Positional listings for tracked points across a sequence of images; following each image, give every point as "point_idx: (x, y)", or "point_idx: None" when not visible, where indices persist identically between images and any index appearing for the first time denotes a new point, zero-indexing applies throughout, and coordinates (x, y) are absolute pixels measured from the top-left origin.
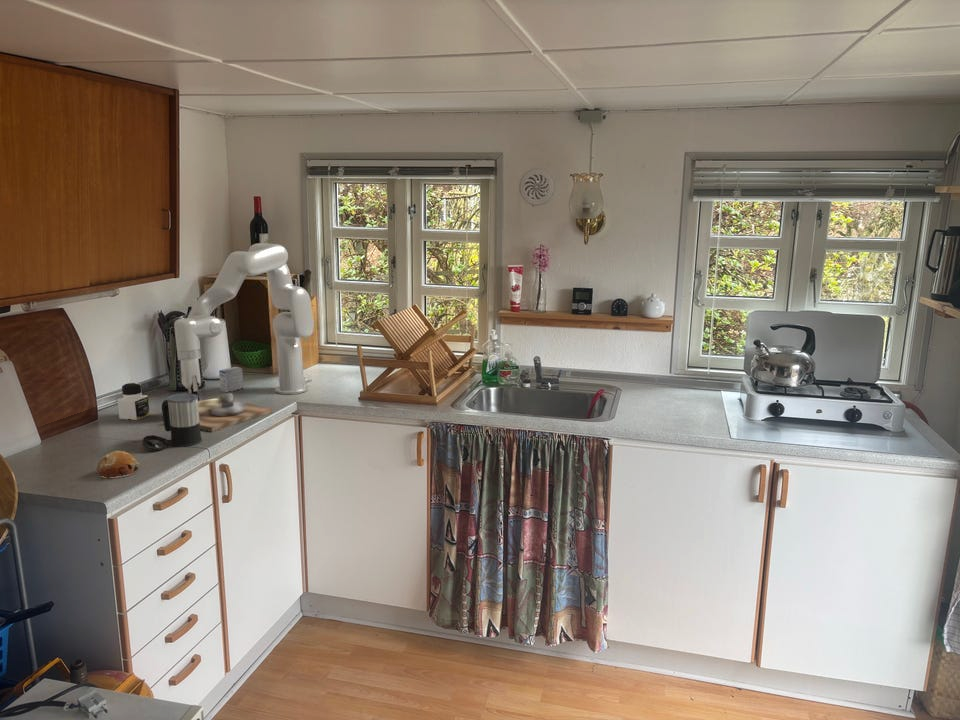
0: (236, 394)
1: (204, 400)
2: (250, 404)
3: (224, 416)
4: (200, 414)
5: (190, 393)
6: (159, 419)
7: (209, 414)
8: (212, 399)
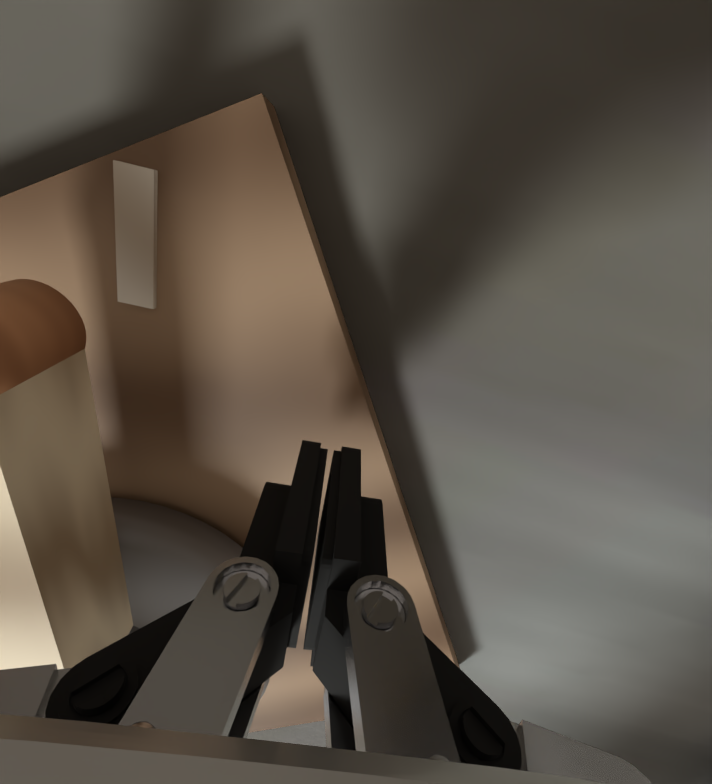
0: (636, 743)
1: (17, 599)
2: (254, 730)
3: None
4: (187, 439)
5: (197, 598)
6: (484, 44)
7: (142, 493)
8: (29, 665)
